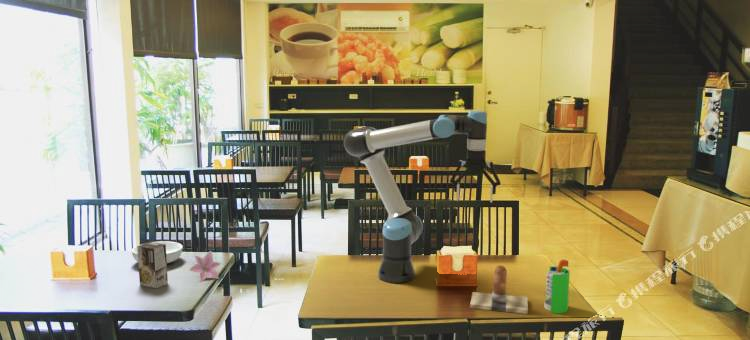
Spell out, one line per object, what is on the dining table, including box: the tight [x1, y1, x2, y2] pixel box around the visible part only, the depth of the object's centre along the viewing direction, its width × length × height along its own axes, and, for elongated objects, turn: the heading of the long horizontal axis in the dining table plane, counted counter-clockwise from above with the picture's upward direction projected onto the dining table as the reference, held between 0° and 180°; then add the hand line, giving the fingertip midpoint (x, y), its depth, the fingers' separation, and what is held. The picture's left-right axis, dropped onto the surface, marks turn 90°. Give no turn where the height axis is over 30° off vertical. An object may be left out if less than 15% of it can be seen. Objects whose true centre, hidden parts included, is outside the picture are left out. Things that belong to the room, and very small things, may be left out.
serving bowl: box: [131, 240, 184, 264], centre depth 252 cm, size 21×21×7 cm
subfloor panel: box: [469, 291, 529, 315], centre depth 210 cm, size 20×12×2 cm, turn 77°
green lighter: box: [544, 259, 570, 314], centre depth 205 cm, size 9×8×18 cm
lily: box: [188, 250, 221, 282], centre depth 235 cm, size 12×12×10 cm
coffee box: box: [136, 241, 169, 289], centre depth 225 cm, size 9×6×16 cm
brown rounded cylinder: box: [491, 265, 508, 303], centre depth 208 cm, size 5×5×13 cm
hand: (474, 200), depth 235 cm, fingers open, 13 cm apart
